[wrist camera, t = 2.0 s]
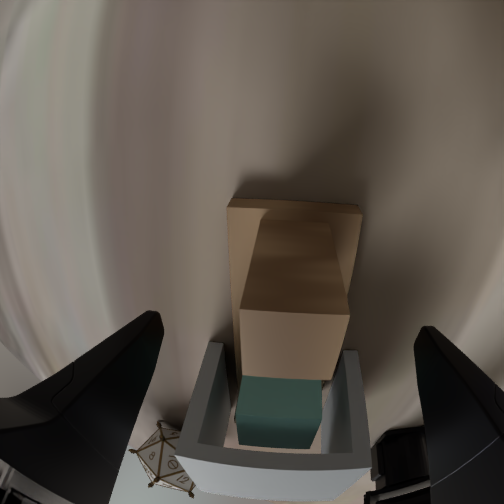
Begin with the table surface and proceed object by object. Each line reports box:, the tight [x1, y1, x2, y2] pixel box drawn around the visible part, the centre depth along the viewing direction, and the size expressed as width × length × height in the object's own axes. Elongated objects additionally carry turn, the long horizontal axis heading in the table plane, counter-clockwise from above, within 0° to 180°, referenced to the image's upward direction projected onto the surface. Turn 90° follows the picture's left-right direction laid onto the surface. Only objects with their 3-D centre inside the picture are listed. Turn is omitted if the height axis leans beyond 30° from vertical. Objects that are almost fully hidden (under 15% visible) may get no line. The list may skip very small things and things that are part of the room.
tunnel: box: [174, 342, 372, 501], centre depth 17 cm, size 10×9×8 cm
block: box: [235, 375, 322, 449], centre depth 16 cm, size 4×4×4 cm
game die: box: [129, 421, 196, 498], centre depth 25 cm, size 9×8×10 cm
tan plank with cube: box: [227, 198, 363, 423], centre depth 14 cm, size 6×16×7 cm, turn 0°
